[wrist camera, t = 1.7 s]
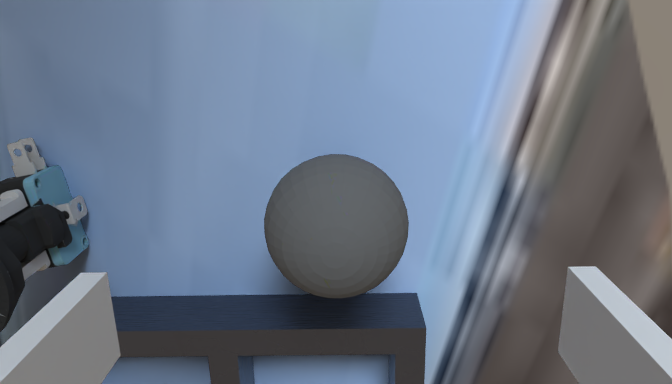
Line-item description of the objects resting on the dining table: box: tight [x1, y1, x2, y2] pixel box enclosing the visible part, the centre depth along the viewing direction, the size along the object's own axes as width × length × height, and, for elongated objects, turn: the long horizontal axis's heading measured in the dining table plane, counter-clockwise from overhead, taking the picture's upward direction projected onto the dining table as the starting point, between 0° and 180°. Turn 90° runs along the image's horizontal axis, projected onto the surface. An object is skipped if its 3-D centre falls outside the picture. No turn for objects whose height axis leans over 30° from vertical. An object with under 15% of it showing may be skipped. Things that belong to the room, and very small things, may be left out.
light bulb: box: [264, 154, 409, 298], centre depth 23 cm, size 6×6×10 cm
